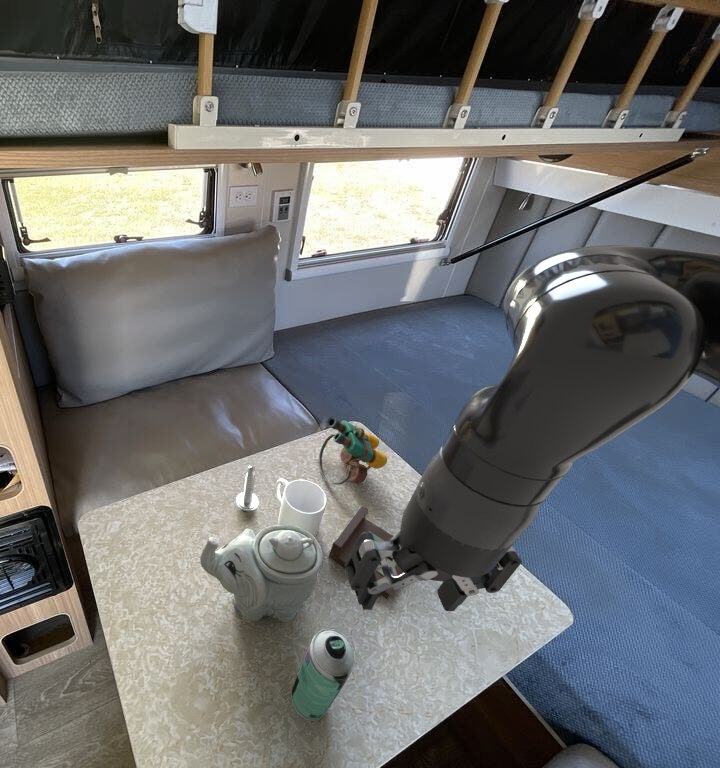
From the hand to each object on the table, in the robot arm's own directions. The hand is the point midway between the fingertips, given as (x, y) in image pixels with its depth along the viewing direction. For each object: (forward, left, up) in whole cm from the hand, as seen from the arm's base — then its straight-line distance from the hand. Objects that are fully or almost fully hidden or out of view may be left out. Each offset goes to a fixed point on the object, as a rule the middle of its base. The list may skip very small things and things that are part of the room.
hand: (404, 601), depth 42 cm
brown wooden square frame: (+7, -26, -31) cm, 41 cm away
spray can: (+3, +3, -31) cm, 32 cm away
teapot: (+19, -4, -31) cm, 37 cm away
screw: (+32, -18, -31) cm, 48 cm away
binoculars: (+21, -43, -31) cm, 57 cm away
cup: (+23, -22, -31) cm, 45 cm away
